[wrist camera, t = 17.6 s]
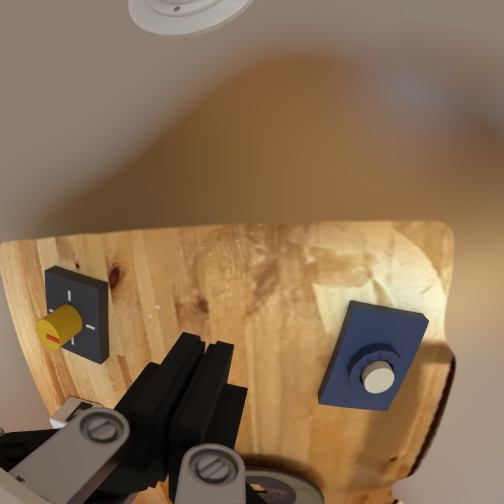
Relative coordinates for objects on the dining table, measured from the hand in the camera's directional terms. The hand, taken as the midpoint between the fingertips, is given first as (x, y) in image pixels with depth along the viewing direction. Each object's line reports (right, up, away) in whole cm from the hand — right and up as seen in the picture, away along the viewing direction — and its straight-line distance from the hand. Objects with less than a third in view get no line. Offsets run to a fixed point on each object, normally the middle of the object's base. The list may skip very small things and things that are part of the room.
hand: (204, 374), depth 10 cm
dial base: (-23, -5, +30) cm, 38 cm away
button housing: (+16, -9, +26) cm, 32 cm away
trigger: (+16, -10, +23) cm, 29 cm away
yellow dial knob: (-24, -5, +28) cm, 37 cm away
